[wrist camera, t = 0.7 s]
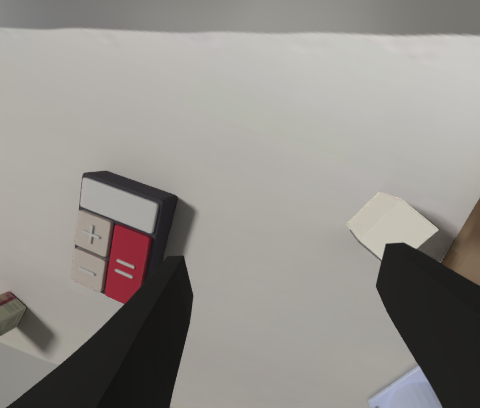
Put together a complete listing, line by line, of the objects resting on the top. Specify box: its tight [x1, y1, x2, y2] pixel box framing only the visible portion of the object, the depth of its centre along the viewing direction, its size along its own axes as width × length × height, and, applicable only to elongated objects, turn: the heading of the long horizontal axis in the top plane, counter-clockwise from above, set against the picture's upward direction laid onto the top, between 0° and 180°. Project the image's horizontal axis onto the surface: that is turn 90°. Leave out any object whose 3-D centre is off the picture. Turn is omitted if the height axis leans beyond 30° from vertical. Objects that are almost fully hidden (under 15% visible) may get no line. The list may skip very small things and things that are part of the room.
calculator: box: [71, 171, 177, 304], centre depth 32 cm, size 11×4×15 cm
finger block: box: [346, 191, 439, 262], centre depth 23 cm, size 4×5×6 cm
